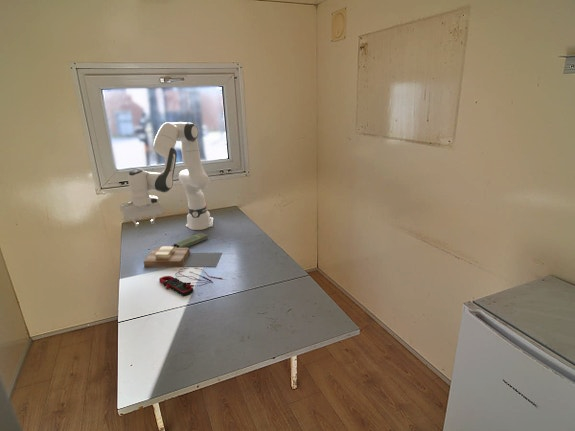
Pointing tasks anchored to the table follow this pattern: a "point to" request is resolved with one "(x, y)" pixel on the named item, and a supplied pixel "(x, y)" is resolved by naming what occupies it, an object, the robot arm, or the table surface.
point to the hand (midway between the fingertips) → (145, 224)
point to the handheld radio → (190, 240)
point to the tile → (164, 252)
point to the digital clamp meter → (181, 283)
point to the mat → (202, 260)
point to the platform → (173, 261)
